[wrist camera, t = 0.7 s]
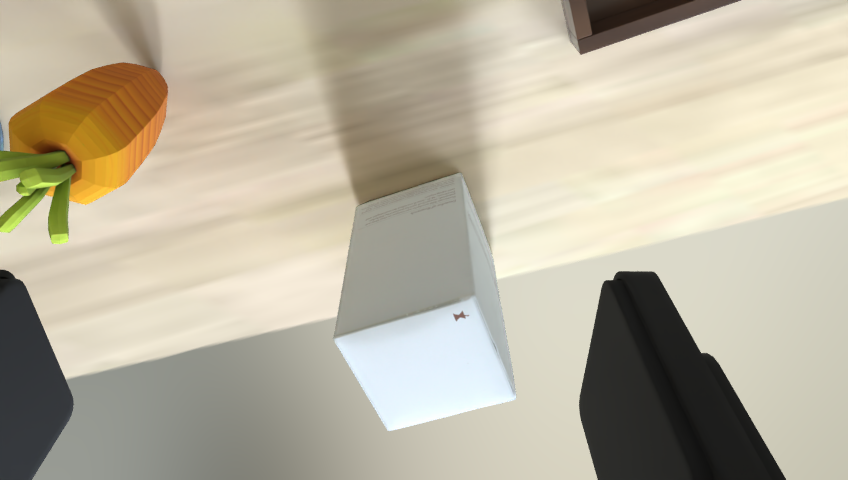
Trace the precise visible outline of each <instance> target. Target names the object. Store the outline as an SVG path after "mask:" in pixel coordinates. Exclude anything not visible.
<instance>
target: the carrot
mask: <svg viewBox="0 0 848 480" xmlns="http://www.w3.org/2000/svg"><path fill="white" fill-rule="evenodd" d="M167 95H168V86H167V84H166V82H165V80H164V78H163V77H162V76H161V74H160V73H159V72H158V71H157V70H155V69H151V68H148V67H144V66H141V65H137V64H130V63H117V64H111V65H106V66H103V67H99V68H95V69H92V70H90V71H88V72H86V73H84V74H82V75H80V76H78V77H76V78H74V79H72V80H70V81H69V82H67V83H65V84H64V85H62V86H60V87H59V88H57V89H55V90H53V91H52V92H50V93H48V94H47V95H45V96H44V97H42V98H40V99H39V100H37V101H35V102H34V103H32V104H31V105H29V106H27V107H26V108H24V109H23V110H21V111H19V112H18V113H16V114H15V115H14V116H13V117H12V118H11V119H10V121H9V140H10V151H0V182H1V181H6V180H10V179H14V178H19V177H20V181H21V182H20V183H19V184H18V185H16V191H17V192H18V193H19V194H21V195H23V197H22V198H21V199H20V200H19V201H17V202H16V203H15V204H14V205H13V206H12V207H10V208H9V209H8V210H7V211H6V212H5V213H4V214H3V215H2V216H1V217H0V232H8V233H9V232H11V231H12V230H13V229H14V228H15V227H16V226H17V225H18V224H19V223H20V222H21V221H22V220H23V219H24V218H25V217H26V216H27V214H28V213H29V212H30V211H31V210H32V209H33V208H34V207H35V206H36V205H37V204H38V203H39V202H40V201H41V200H42V199H43V197H44V196H45V195H48V196H52V197H53V199H52V203H51V207H50V211H49V216H48V231H49V234H50V238H51V241H52V243H53V244H62V243H66V242H68V231H69V230H68V208H69V201H72V202H77V203H81V204H85V205H86V204H89V203H91V202H93V201H95V200H97V199H98V198H100V197H102V196H104V195H106V194H108V193H109V192H111V191H113V190H115V189H117V188H119V187H120V186H122V185H124V184H125V183H126V182H127V181H128V180H129V179H130V177H131V176H132V175H133V174H134V173H135V171H136V170H137V169H138V168H139V166H140V165H141V164H142V163H143V161H144V160H145V158H146V157H147V156H148V154H149V153H150V151H151V150H152V149H153V147H154V146H155V144H156V141H157V139H158V137H159V134H160V132H161V129H162V126H163V123H164V120H165V117H166V106H167Z"/></svg>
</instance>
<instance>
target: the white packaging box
mask: <svg viewBox="0 0 848 480" xmlns="http://www.w3.org/2000/svg"><path fill="white" fill-rule="evenodd" d="M333 340H334V341H335V343H336V345H337V347H338V348H339V350H340V351H341V353H342V355H343V356H344V358H345V360H346V362H347V363H348V365H349V366H350V368H351V370H352V372H353V373H354V375H355V377H356V379H357V380H358V382H359V383H360V385H361V386H362V388H363V390H364V392H365V394H366V395H367V397H368V399H369V400H370V401H371V404H372V405H373V407H374V409H375V410H376V412H377V414H378V415H379V417H380V419H381V420H382V422H383V423H384V425H385V427H386V429H387V430H388V431H392V430H396V429H400V428H404V427H408V426H412V425H416V424H420V423H423V422H428V421H432V420H436V419H440V418H444V417H447V416H451V415H455V414H459V413H462V412H466V411H470V410H474V409H478V408H481V407H486V406H490V405H495V404H499V403H503V402H507V401H511V400H515V399H516V391H515V384H514V376H513V370H512V364H511V358H510V352H509V347H508V342H507V336H506V331H505V325H504V319H503V313H502V308H501V303H500V297H499V291H498V286H497V279H496V272H495V266H494V260H493V257H492V253H491V250H490V247H489V244H488V242H487V239H486V236H485V233H484V231H483V228H482V225H481V222H480V220H479V217H478V215H477V212H476V209H475V207H474V204H473V201H472V199H471V196H470V193H469V191H468V188H467V185H466V183H465V180H464V178H463V175H462V173H457V174H453V175H450V176H447V177H444V178H441V179H438V180H435V181H432V182H429V183H425V184H422V185H419V186H416V187H413V188H410V189H407V190H403V191H400V192H397V193H394V194H391V195H388V196H385V197H382V198H379V199H376V200H373V201H370V202H367V203H364V204H362V205H359V206H357V207H356V211H355V217H354V222H353V228H352V233H351V240H350V246H349V251H348V257H347V263H346V269H345V275H344V281H343V286H342V292H341V298H340V304H339V310H338V315H337V321H336V327H335V333H334V337H333Z"/></svg>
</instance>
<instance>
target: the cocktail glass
mask: <svg viewBox="0 0 848 480" xmlns="http://www.w3.org/2000/svg"><path fill="white" fill-rule="evenodd" d="M0 151H3V133H2V128H1V123H0Z"/></svg>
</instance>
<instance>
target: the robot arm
mask: <svg viewBox="0 0 848 480" xmlns="http://www.w3.org/2000/svg"><path fill="white" fill-rule="evenodd" d="M579 409H580V417H581V421H582V425H583V429H584V432H585V436H586V439H587V443H588V446H589V450H590V453H591V457H592V460H593V464H594V468H595V471H596V474H597V478H598V480H786V478H785V477H784V475H783V473H782V472H781V470H780V468H779V466H778V465H777V463H776V461H775V460H774V458H773V456H772V455H771V453H770V451H769V449H768V448H767V446H766V444H765V443H764V441H763V439H762V437H761V436H760V434H759V432H758V430H757V429H756V427H755V425H754V424H753V422H752V420H751V418H750V417H749V415H748V413H747V411H746V410H745V408H744V406H743V405H742V403H741V401H740V399H739V398H738V396H737V394H736V393H735V391H734V389H733V387H732V386H731V384H730V382H729V381H728V379H727V377H726V375H725V374H724V372H723V370H722V369H721V367H720V365H719V364H718V362H717V361H716V360H715V358H714V357H713V356H711V355H709V354H708V353H701V352H700V350H699V349H698V347H697V345H696V343H695V342H694V340H693V338H692V336H691V334H690V332H689V331H688V329H687V327H686V325H685V324H684V322H683V320H682V318H681V316H680V315H679V313H678V311H677V309H676V307H675V306H674V304H673V302H672V300H671V298H670V297H669V295H668V293H667V291H666V290H665V288H664V286H663V284H662V282H661V281H660V279H659V277H658V276H657V274H656V273H654V272H629V271H623V272H622V271H621V272H617V273H616V275H615V276H614V279H613V280H606V281H604V283H603V285H602V289H601V294H600V299H599V304H598V309H597V314H596V319H595V324H594V329H593V334H592V339H591V344H590V349H589V354H588V359H587V364H586V368H585V373H584V379H583V383H582V389H581V394H580V400H579ZM72 411H73V397H72V394H71V391H70V389H69V387H68V385H67V382H66V380H65V377H64V375H63V373H62V370H61V368H60V366H59V363H58V361H57V359H56V356H55V354H54V352H53V349H52V347H51V345H50V342H49V340H48V338H47V335H46V333H45V331H44V328H43V326H42V324H41V321H40V319H39V317H38V314H37V312H36V310H35V307H34V305H33V303H32V300H31V298H30V296H29V293H28V291H27V289H26V286H25V285H24V283H23V282H22V281H21V280H19V279H15V277H14V275H13V274H11V273H10V272H9V271H6V270H0V480H32V479H33V477H34V475H35V474H36V472H37V470H38V469H39V467H40V466H41V464H42V462H43V461H44V459H45V458H46V456H47V454H48V453H49V451H50V450H51V448H52V446H53V445H54V443H55V442H56V440H57V438H58V437H59V435H60V434H61V432H62V430H63V429H64V427H65V426H66V424H67V422H68V421H69V419H70V417H71V414H72Z"/></svg>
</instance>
